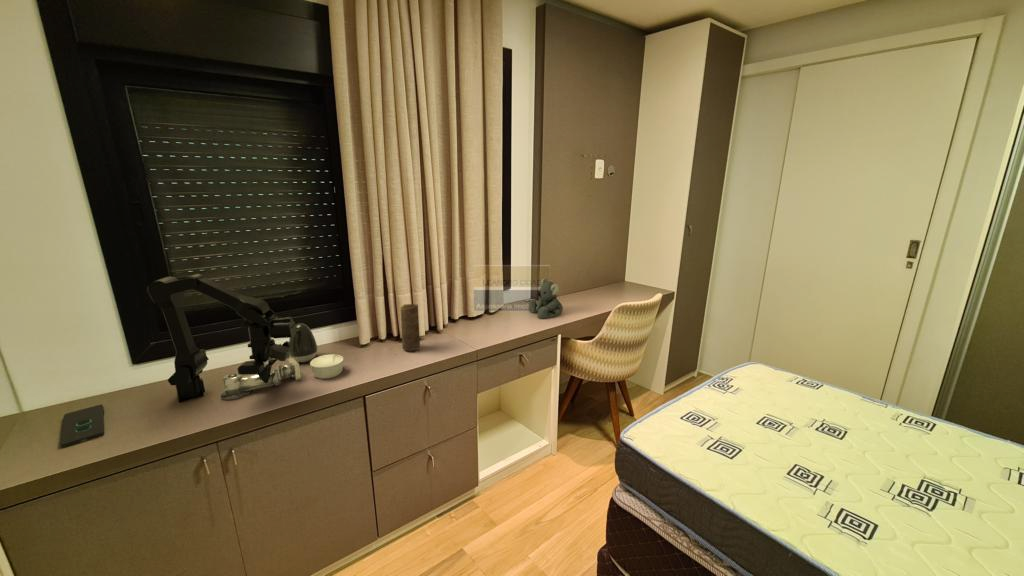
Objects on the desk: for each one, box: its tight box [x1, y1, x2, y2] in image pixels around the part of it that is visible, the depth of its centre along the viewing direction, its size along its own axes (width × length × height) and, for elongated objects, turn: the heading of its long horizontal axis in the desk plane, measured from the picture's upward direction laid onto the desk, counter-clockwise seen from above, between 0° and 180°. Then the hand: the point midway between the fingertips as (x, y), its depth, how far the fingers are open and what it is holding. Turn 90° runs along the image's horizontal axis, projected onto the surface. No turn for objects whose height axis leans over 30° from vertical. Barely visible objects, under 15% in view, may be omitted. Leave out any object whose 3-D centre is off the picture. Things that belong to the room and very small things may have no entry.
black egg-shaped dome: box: [288, 323, 318, 363], centre depth 153 cm, size 10×10×15 cm
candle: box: [400, 303, 421, 351], centre depth 165 cm, size 8×7×20 cm
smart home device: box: [59, 404, 105, 449], centre depth 111 cm, size 8×2×20 cm
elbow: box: [222, 368, 280, 395], centre depth 131 cm, size 15×5×6 cm, turn 119°
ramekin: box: [309, 353, 345, 380], centre depth 144 cm, size 11×11×5 cm
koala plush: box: [528, 277, 564, 320], centre depth 216 cm, size 17×18×20 cm
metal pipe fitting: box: [220, 357, 302, 401], centre depth 134 cm, size 23×8×6 cm, turn 134°
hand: (266, 382), depth 131 cm, fingers closed
